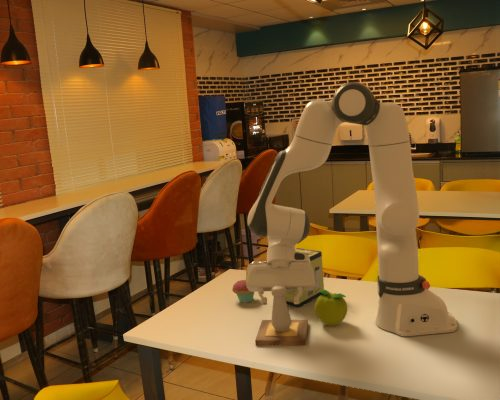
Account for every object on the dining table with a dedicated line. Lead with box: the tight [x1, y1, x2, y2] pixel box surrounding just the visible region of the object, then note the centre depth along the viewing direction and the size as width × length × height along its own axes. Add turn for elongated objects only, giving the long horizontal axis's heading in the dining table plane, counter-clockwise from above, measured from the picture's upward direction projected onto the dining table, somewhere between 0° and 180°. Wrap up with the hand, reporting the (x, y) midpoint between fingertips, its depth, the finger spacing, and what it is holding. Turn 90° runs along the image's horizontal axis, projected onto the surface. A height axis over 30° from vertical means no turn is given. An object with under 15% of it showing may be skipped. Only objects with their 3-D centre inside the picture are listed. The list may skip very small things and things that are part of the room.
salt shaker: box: [270, 286, 292, 332], centre depth 148 cm, size 6×6×13 cm
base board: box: [254, 318, 309, 346], centre depth 150 cm, size 14×14×2 cm
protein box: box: [285, 247, 325, 309], centre depth 176 cm, size 10×16×16 cm
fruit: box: [314, 288, 348, 327], centre depth 153 cm, size 9×9×10 cm
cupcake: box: [231, 269, 255, 303], centre depth 179 cm, size 9×8×12 cm
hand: (280, 303), depth 148 cm, fingers open, 8 cm apart
